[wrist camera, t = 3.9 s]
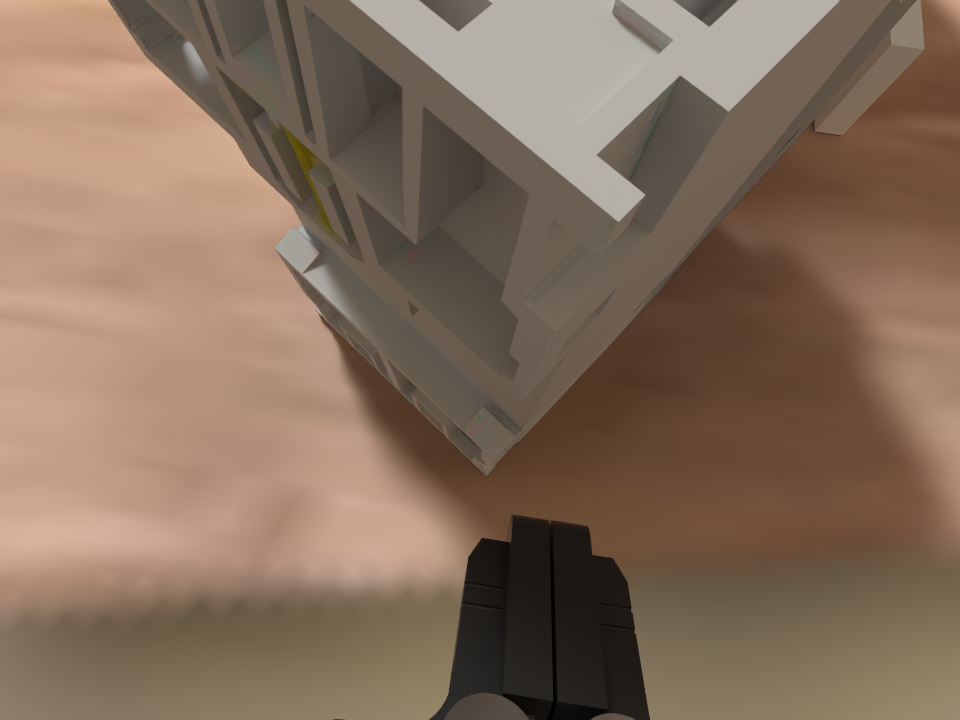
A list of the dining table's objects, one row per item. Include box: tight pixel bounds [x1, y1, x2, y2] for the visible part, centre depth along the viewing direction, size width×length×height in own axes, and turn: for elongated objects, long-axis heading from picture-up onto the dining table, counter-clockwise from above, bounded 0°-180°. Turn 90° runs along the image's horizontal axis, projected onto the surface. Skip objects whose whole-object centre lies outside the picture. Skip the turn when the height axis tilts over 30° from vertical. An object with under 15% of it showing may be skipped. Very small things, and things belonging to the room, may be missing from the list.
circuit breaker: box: [108, 0, 917, 477], centre depth 13 cm, size 8×14×15 cm, turn 136°
